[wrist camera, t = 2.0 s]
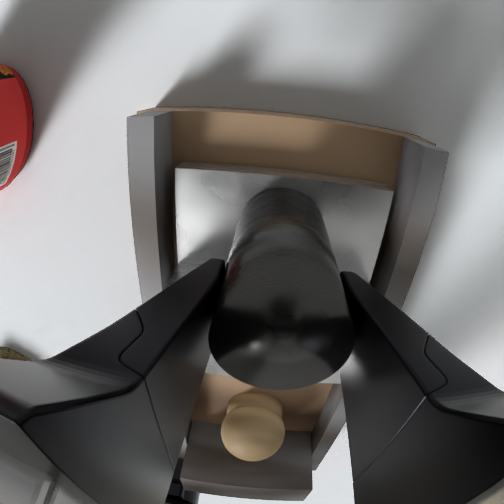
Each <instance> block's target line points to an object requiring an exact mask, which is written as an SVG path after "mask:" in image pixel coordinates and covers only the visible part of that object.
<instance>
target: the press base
mask: <svg viewBox="0 0 504 504" xmlns="http://www.w3.org/2000/svg"><path fill="white" fill-rule="evenodd" d="M127 152H128V174H129V191H130V204H131V216H132V227H133V237H134V246H135V254H136V262H137V270H138V277H139V284H140V291H141V298H142V304H143V303H145V302H146V301H148V300H149V299H151V298H152V297H153V296H155V295H156V294H158V293H159V292H161V291H162V290H164V289H165V288H166V286H167V284H168V282H169V280H170V278H171V276H172V274H173V272H174V270H175V268H176V266H177V264H178V259H177V237H176V206H175V168H176V167H177V166H178V165H179V164H181V163H182V162H196V163H213V164H228V165H241V166H253V167H264V168H275V169H284V170H294V171H302V172H311V173H319V174H327V175H334V176H341V177H348V178H355V179H362V180H368V181H374V182H380V183H386V184H387V185H388V186H389V187H390V188H391V189H392V190H393V191H394V193H393V197H392V202H391V206H390V210H389V214H388V218H387V222H386V226H385V230H384V234H383V238H382V241H381V245H380V249H379V252H378V256H377V259H376V263H375V266H374V270H373V273H372V276H371V280H370V284H371V286H372V287H374V288H375V289H376V290H377V291H378V292H380V293H381V294H382V295H383V296H384V297H386V298H387V299H388V300H389V301H391V302H392V303H393V304H394V305H395V306H397V307H398V308H399V309H400V310H401V308H402V306H403V303H404V301H405V298H406V295H407V293H408V290H409V288H410V285H411V282H412V280H413V277H414V274H415V271H416V269H417V266H418V263H419V260H420V257H421V254H422V251H423V248H424V245H425V242H426V239H427V235H428V232H429V229H430V226H431V222H432V219H433V215H434V212H435V208H436V204H437V201H438V197H439V193H440V189H441V185H442V181H443V177H444V172H445V168H446V164H447V159H448V154H449V153H448V152H446V151H444V150H442V149H440V148H438V147H436V144H434V143H432V142H430V141H428V140H425V139H423V138H421V137H419V136H416V135H411V134H407V133H403V132H399V131H394V130H389V129H385V128H380V127H375V126H370V125H365V124H359V123H354V122H348V121H342V120H335V119H329V118H322V117H315V116H307V115H299V114H291V113H281V112H271V111H259V110H246V109H229V108H202V107H155V108H150V109H146V110H142V111H138V112H137V114H136V115H132V116H129V117H127ZM245 392H260V393H265V394H269V395H271V396H273V397H275V398H277V399H278V400H279V401H280V402H281V404H282V421H283V423H284V427H285V436H284V440H283V443H282V445H281V447H280V448H279V449H278V450H277V452H276V453H274V454H273V455H272V456H270V457H268V458H266V459H264V460H260V461H245V460H242V459H239V458H237V457H235V456H234V455H232V454H231V453H230V452H229V451H228V450H227V449H226V447H225V445H224V443H223V441H222V438H221V426H222V422H223V420H224V418H225V416H226V414H227V407H228V402H229V400H230V399H231V398H232V397H233V396H235V395H237V394H240V393H245ZM345 422H346V415H345V407H344V400H343V393H342V386H341V384H336V383H316V384H313V385H310V386H307V387H303V388H298V389H291V390H271V389H264V388H259V387H255V386H251V385H248V384H246V383H243V382H241V381H239V380H237V379H235V378H234V377H232V376H226V375H218V374H210V373H205V374H204V377H203V380H202V383H201V386H200V390H199V393H198V396H197V399H196V402H195V406H194V409H193V412H192V415H191V418H190V422H189V425H188V428H187V431H186V435H185V438H184V441H183V444H182V448H181V451H180V454H179V457H178V458H182V459H184V461H183V465H182V470H181V475H180V480H181V482H182V485H183V488H184V490H187V491H193V492H199V493H205V494H212V495H220V496H228V497H237V498H248V499H261V500H284V501H303V500H304V499H305V498H306V497H307V496H308V494H309V493H310V492H311V491H312V470H316V469H317V467H318V466H319V464H320V463H321V461H322V460H323V458H324V457H325V455H326V453H327V452H328V450H329V449H330V447H331V446H332V444H333V442H334V441H335V439H336V437H337V436H338V434H339V433H340V431H341V429H342V427H343V426H344V424H345Z"/></svg>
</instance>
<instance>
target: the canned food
mask: <svg viewBox="0 0 504 504" xmlns="http://www.w3.org/2000/svg"><path fill="white" fill-rule="evenodd" d="M32 134H33V112H32V104H31V100H30V96H29V92H28V89H27V87H26V85H25V83H24V81H23V79H22V78H21V77H20V75H19V74H18V73H17V72H16V71H15V70H13V69H12V68H9V67H7V66H4V65H2V64H0V190H2V189H4V188H5V187H6V186H8V185H9V184H10V183H11V182H12V181H13V179H14V178H15V177H16V176H17V175H18V174H19V172H20V171H21V170H22V168H23V166H24V164H25V163H26V160H27V157H28V154H29V152H30V147H31V142H32Z"/></svg>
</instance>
